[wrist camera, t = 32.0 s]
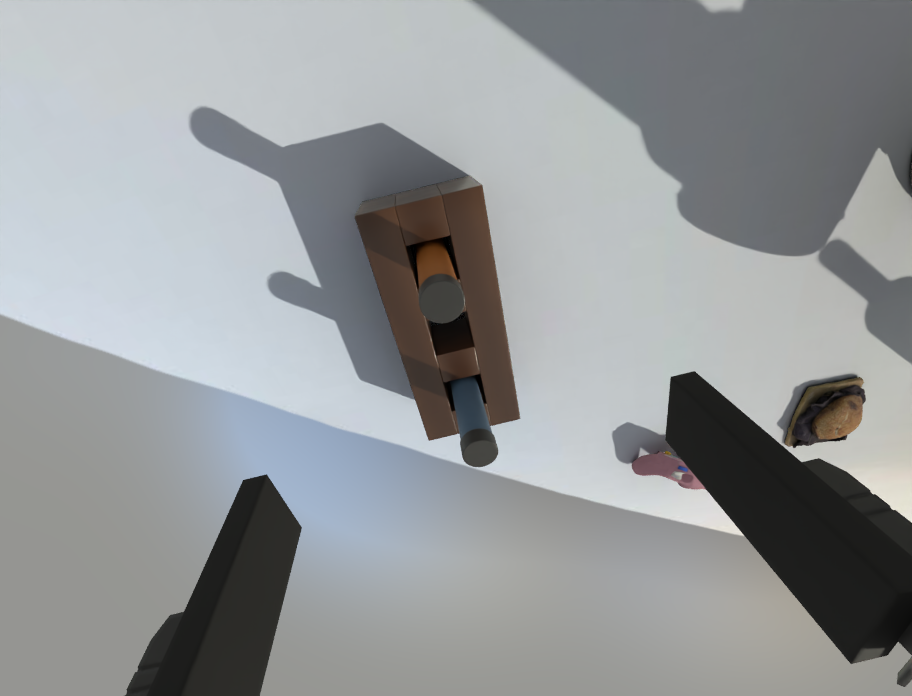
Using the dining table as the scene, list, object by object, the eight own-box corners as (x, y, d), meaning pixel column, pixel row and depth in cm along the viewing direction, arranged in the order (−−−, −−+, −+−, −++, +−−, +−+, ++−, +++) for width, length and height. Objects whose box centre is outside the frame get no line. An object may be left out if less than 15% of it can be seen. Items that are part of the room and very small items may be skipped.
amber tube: (422, 221, 35) (432, 273, 23) (449, 235, 36) (473, 292, 24) (408, 249, 36) (411, 313, 24) (435, 262, 37) (452, 330, 25)
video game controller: (689, 454, 57) (736, 472, 50) (679, 484, 57) (725, 507, 50) (636, 437, 54) (679, 454, 47) (626, 469, 54) (667, 491, 47)
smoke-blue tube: (453, 345, 42) (473, 436, 29) (476, 354, 42) (505, 446, 30) (441, 365, 43) (456, 461, 31) (463, 374, 44) (486, 471, 31)
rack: (470, 175, 34) (482, 184, 28) (506, 385, 45) (520, 419, 40) (361, 201, 34) (354, 216, 28) (425, 404, 45) (428, 441, 40)
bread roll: (801, 385, 51) (828, 402, 47) (864, 373, 51) (895, 390, 48) (778, 446, 56) (801, 465, 53) (835, 435, 56) (861, 454, 53)
